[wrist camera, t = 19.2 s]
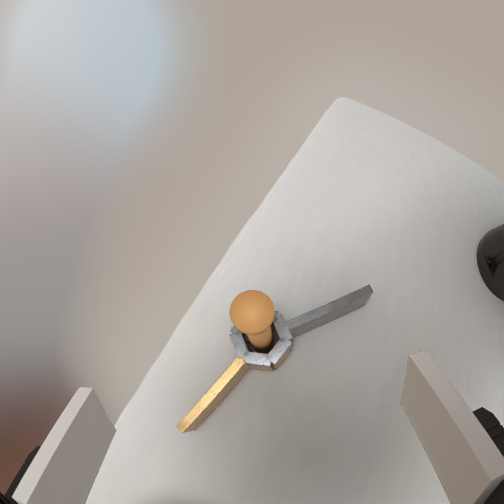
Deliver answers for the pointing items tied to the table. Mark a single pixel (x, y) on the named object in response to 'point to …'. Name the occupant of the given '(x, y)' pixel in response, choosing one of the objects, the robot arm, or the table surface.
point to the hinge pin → (254, 318)
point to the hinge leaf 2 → (298, 328)
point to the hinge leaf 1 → (219, 392)
